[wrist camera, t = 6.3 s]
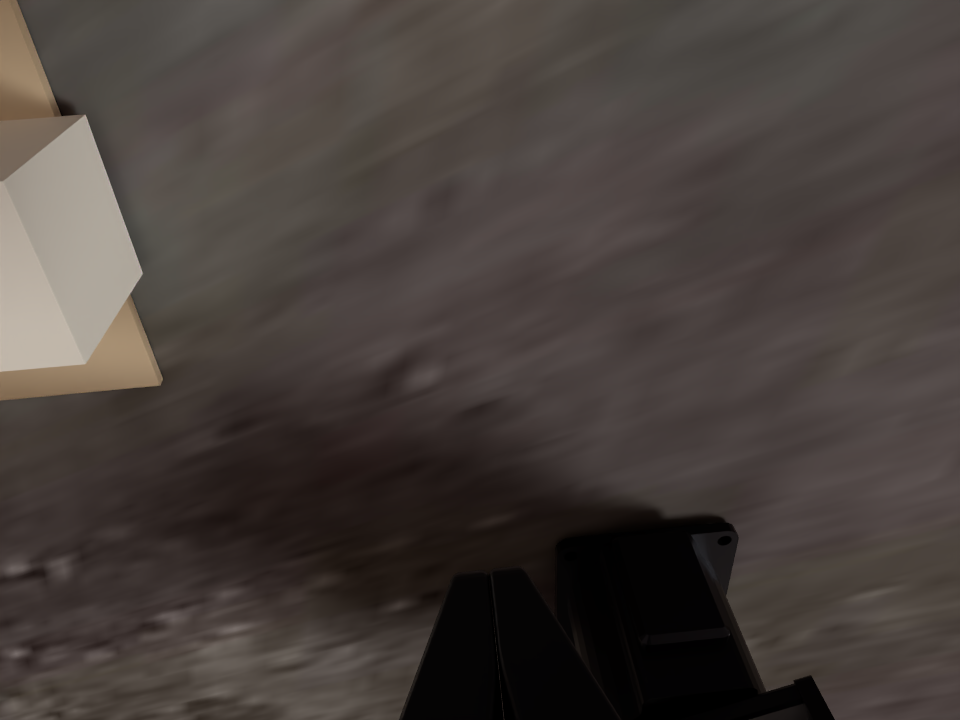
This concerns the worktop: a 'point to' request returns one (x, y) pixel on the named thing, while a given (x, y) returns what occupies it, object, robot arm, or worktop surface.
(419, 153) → the worktop surface
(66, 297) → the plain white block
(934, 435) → the worktop surface
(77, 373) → the cork trivet
